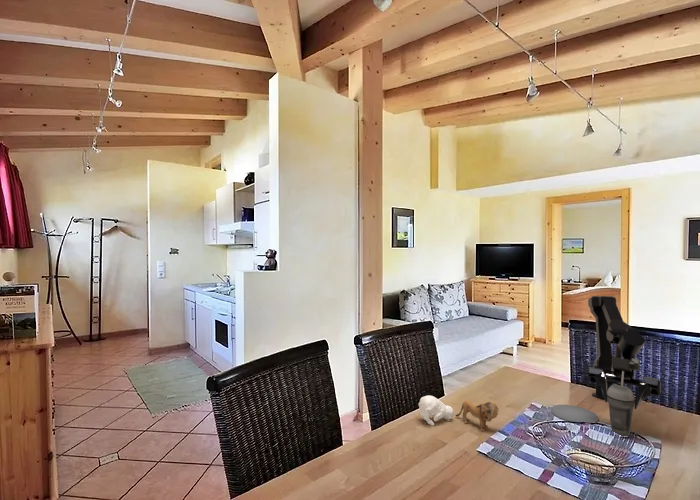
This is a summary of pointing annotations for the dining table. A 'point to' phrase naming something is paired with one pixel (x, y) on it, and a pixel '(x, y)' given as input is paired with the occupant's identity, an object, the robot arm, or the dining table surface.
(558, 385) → the dining table surface
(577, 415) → the coaster
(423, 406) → the white rounded figure
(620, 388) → the beverage cup
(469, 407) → the lion figurine
